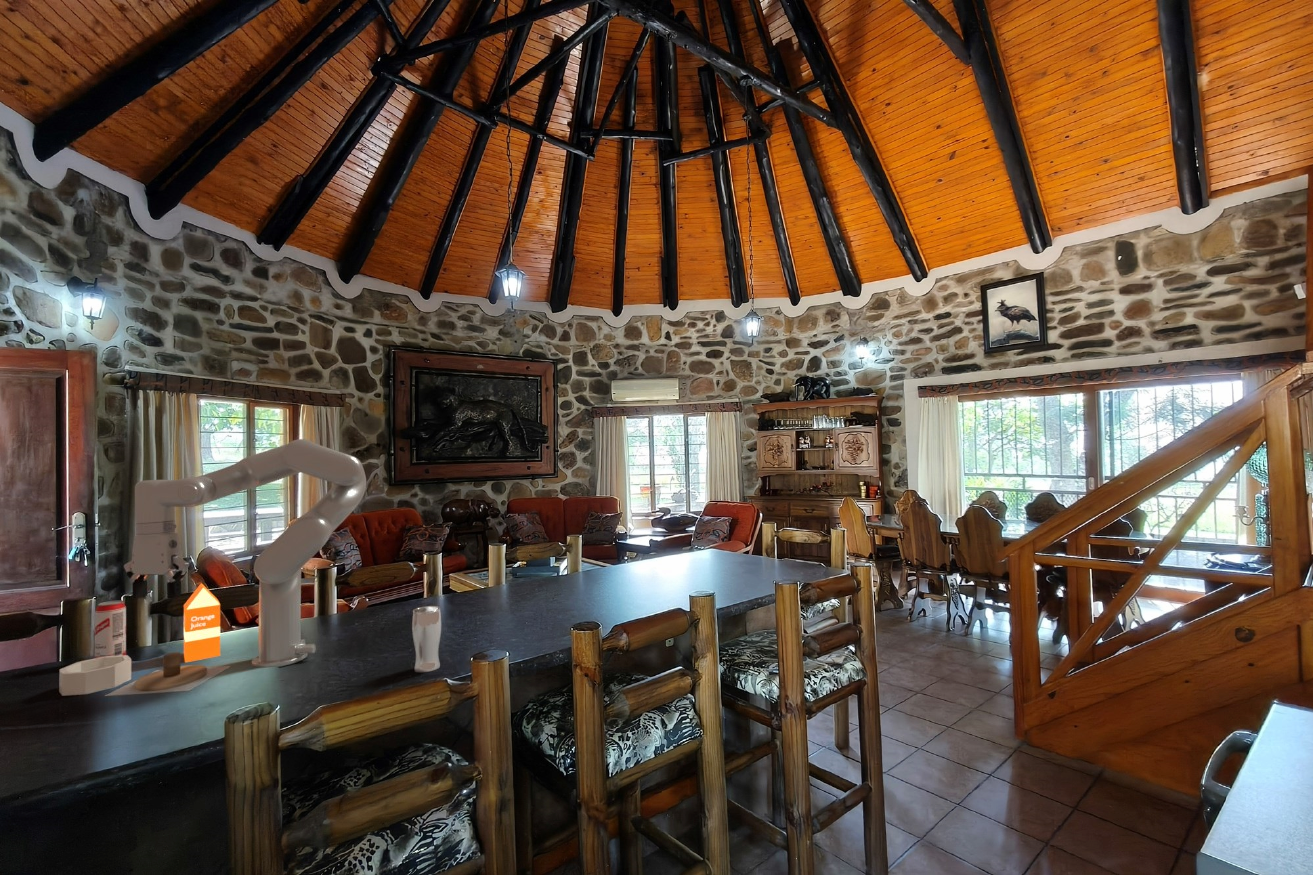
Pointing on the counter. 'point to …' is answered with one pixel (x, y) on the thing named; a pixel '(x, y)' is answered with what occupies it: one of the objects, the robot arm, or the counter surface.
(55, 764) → the counter surface
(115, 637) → the beer can
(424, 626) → the beer glass
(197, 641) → the orange juice
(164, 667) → the lid
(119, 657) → the bowl
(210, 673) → the mat
